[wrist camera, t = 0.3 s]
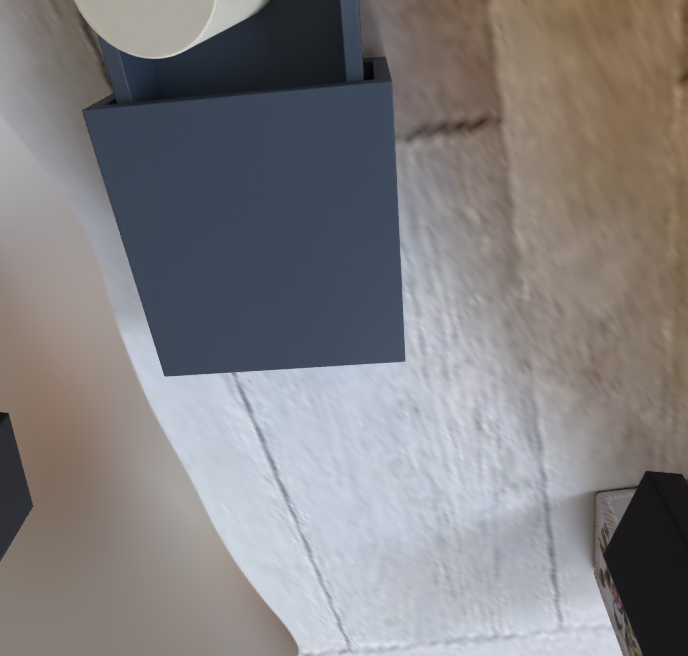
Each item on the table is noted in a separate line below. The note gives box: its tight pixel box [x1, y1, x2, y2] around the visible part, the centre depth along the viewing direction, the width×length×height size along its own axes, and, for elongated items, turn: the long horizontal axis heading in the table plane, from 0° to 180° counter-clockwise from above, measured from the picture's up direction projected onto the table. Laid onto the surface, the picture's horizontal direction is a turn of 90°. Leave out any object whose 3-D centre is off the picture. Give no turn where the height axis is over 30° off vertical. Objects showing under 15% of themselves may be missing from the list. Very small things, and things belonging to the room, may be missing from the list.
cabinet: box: [82, 57, 405, 376], centre depth 35 cm, size 16×15×8 cm
